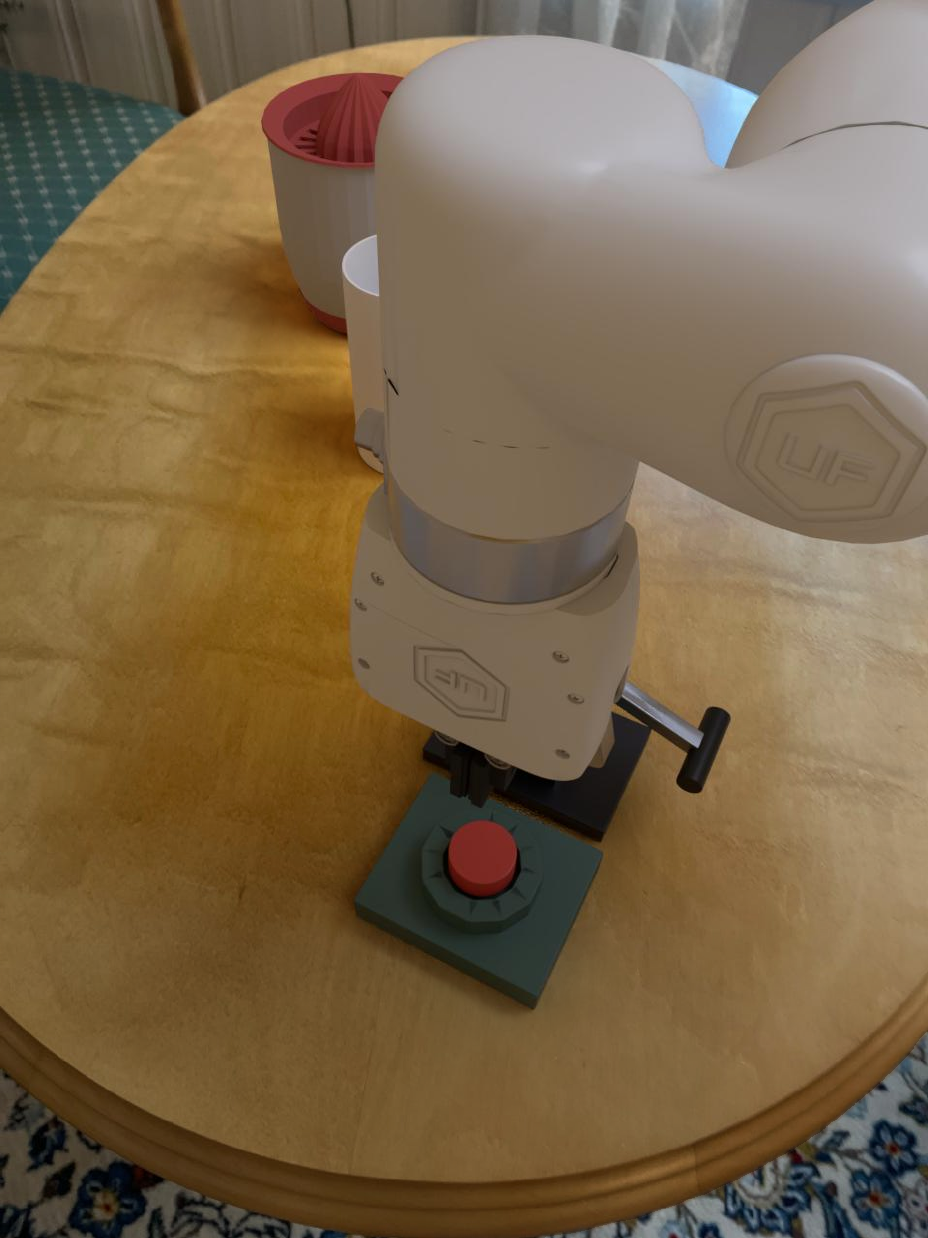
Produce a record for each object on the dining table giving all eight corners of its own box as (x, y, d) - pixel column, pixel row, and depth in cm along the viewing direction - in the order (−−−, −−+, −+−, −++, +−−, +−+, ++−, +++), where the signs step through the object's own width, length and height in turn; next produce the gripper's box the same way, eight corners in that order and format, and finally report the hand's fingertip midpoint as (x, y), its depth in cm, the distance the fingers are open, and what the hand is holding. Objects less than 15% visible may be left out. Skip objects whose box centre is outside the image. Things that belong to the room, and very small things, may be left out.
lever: (717, 729, 55) (741, 714, 53) (687, 799, 52) (712, 786, 50) (541, 608, 55) (559, 588, 53) (502, 673, 52) (519, 654, 50)
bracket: (649, 739, 62) (689, 614, 52) (601, 842, 57) (635, 728, 47) (480, 666, 65) (487, 535, 55) (422, 759, 60) (418, 635, 50)
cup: (337, 437, 79) (317, 257, 66) (416, 396, 82) (412, 217, 69) (399, 493, 75) (390, 314, 62) (480, 447, 78) (487, 269, 65)
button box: (599, 867, 56) (608, 837, 53) (534, 1010, 51) (540, 986, 48) (432, 788, 59) (431, 755, 56) (355, 916, 54) (350, 887, 51)
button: (526, 851, 53) (528, 838, 52) (496, 908, 51) (498, 895, 50) (467, 823, 54) (467, 809, 53) (436, 878, 52) (436, 864, 51)
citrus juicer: (505, 303, 90) (519, 76, 75) (352, 377, 83) (332, 143, 68) (403, 231, 98) (395, 10, 82) (254, 293, 91) (215, 65, 75)
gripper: (239, 485, 30) (299, 772, 45) (695, 674, 26) (599, 921, 41) (363, 354, 34) (381, 655, 49) (773, 501, 31) (660, 781, 45)
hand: (480, 776), depth 45 cm, fingers closed
